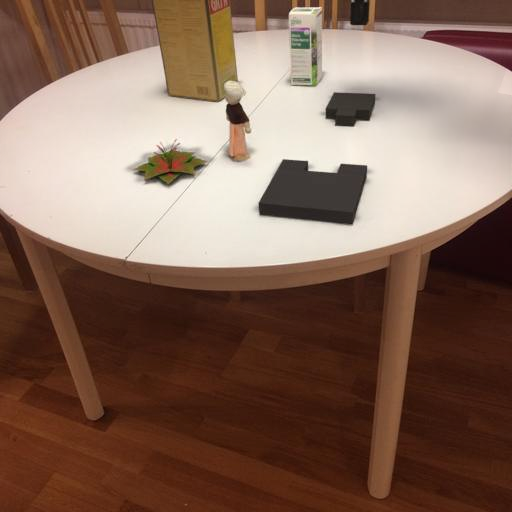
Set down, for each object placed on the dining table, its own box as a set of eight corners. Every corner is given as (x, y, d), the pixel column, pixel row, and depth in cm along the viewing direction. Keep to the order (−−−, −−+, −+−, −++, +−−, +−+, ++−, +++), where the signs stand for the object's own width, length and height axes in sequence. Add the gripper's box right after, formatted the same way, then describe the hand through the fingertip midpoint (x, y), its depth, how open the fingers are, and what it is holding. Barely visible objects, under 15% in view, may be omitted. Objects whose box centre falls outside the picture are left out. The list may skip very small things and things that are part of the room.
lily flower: (120, 174, 86) (113, 149, 83) (173, 146, 93) (169, 122, 90) (168, 195, 80) (162, 168, 77) (222, 163, 86) (219, 137, 84)
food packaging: (241, 86, 114) (228, -44, 99) (219, 102, 108) (201, -35, 93) (190, 81, 120) (170, -43, 104) (166, 96, 113) (141, -34, 98)
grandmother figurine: (217, 153, 89) (207, 79, 82) (235, 145, 91) (226, 73, 83) (245, 168, 84) (237, 90, 77) (263, 159, 86) (257, 83, 79)
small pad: (374, 103, 101) (375, 93, 100) (366, 127, 93) (367, 116, 92) (333, 102, 103) (333, 92, 102) (322, 124, 95) (322, 114, 94)
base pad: (366, 177, 79) (367, 165, 78) (352, 224, 69) (353, 212, 68) (283, 170, 83) (283, 159, 82) (259, 215, 73) (258, 202, 72)
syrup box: (290, 85, 112) (287, 13, 104) (297, 76, 117) (295, 5, 108) (316, 86, 111) (315, 12, 102) (322, 76, 115) (322, 5, 106)
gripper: (382, -89, 80) (374, 36, 91) (392, -100, 91) (384, 13, 102) (333, -87, 82) (331, 35, 94) (349, -97, 93) (346, 13, 105)
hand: (359, 23), depth 98 cm, fingers closed
